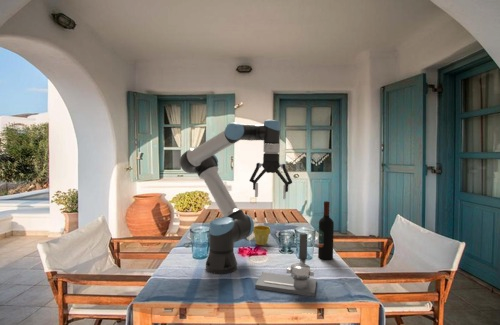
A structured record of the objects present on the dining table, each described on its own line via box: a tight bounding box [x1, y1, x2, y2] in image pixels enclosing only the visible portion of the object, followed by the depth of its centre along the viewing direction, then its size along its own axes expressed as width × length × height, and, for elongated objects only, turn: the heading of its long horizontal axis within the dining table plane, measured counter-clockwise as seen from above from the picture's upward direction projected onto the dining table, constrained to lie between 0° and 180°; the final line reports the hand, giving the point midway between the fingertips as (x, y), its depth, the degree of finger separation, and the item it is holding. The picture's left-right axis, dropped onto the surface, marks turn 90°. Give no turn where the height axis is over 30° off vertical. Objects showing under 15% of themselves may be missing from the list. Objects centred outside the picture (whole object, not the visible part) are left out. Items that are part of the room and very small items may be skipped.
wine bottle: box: [317, 201, 335, 262], centre depth 156 cm, size 8×8×30 cm
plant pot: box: [252, 225, 271, 246], centre depth 180 cm, size 10×10×10 cm
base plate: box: [254, 271, 317, 297], centre depth 125 cm, size 24×13×6 cm, turn 74°
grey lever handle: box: [286, 232, 315, 281], centre depth 126 cm, size 18×11×14 cm, turn 165°
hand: (270, 197), depth 141 cm, fingers open, 13 cm apart
